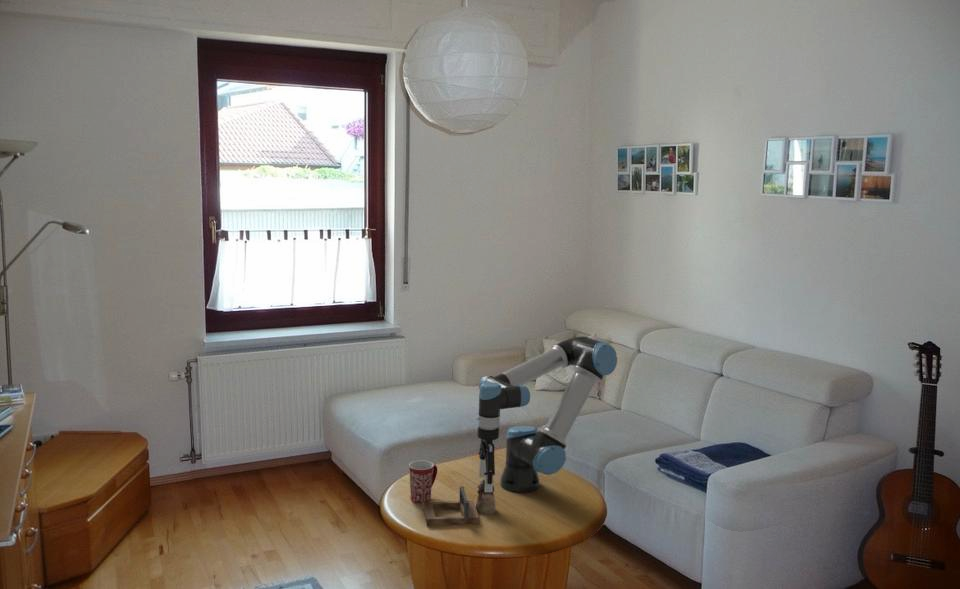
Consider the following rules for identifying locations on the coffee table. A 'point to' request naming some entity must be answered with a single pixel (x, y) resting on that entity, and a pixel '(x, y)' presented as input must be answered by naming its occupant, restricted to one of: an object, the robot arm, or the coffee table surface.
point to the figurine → (485, 500)
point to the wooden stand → (463, 504)
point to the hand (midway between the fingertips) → (485, 484)
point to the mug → (421, 480)
